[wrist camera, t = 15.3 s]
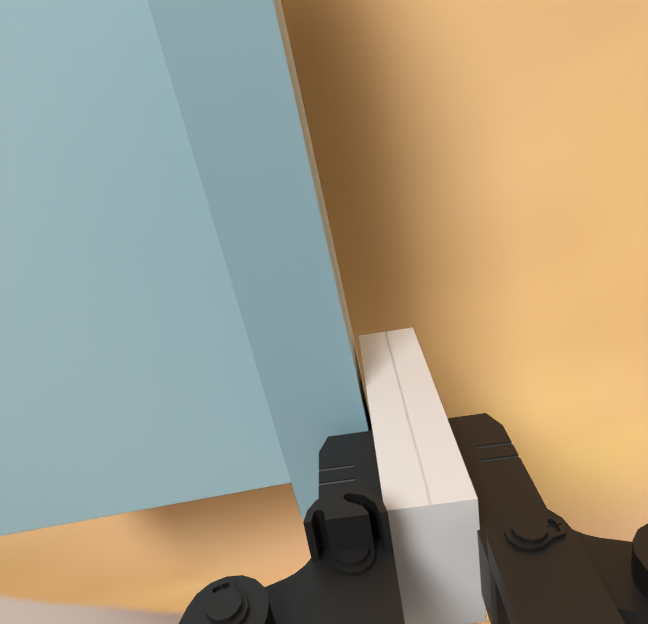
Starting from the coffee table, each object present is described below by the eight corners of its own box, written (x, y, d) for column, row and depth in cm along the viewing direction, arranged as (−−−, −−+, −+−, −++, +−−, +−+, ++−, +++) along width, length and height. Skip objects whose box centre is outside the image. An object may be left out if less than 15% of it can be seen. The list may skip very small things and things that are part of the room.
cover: (36, 426, 22) (-113, 607, 14) (-252, -157, 15) (-852, -412, 7) (362, 362, 21) (388, 520, 13) (222, -294, 14) (106, -753, 6)
